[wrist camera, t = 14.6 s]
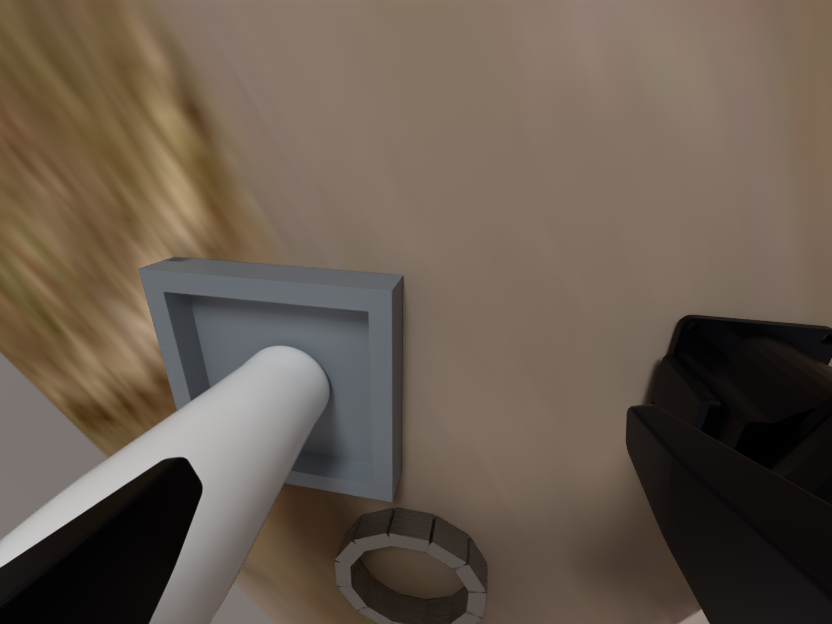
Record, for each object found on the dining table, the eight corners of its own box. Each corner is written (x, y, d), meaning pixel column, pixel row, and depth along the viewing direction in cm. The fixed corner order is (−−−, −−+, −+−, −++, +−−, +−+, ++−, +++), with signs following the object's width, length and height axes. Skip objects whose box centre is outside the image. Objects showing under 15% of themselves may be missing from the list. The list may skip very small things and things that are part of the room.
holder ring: (492, 525, 26) (492, 553, 25) (479, 621, 31) (477, 650, 29) (341, 497, 28) (330, 521, 26) (348, 591, 33) (339, 617, 31)
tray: (403, 275, 21) (391, 290, 18) (401, 471, 26) (392, 502, 24) (173, 256, 23) (138, 268, 21) (216, 441, 28) (192, 466, 26)
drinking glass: (222, 351, 24) (-137, 618, 10) (307, 313, 22) (-8, 590, 8) (280, 434, 26) (41, 753, 12) (364, 408, 24) (186, 761, 10)
